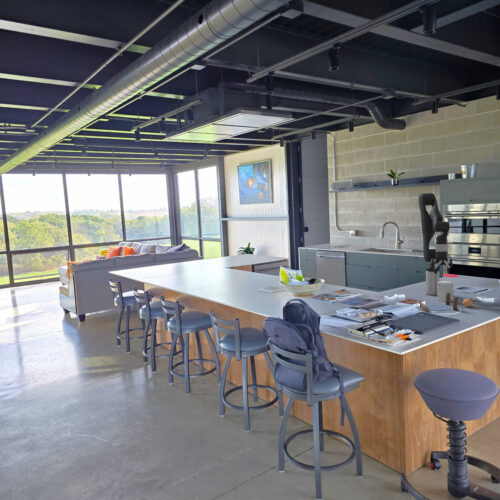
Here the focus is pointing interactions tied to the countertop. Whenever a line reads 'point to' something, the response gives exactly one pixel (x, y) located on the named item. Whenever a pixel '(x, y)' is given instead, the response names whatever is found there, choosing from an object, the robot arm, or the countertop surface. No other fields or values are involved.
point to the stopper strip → (423, 306)
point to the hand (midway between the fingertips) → (441, 273)
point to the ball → (467, 302)
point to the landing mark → (437, 307)
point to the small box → (444, 290)
